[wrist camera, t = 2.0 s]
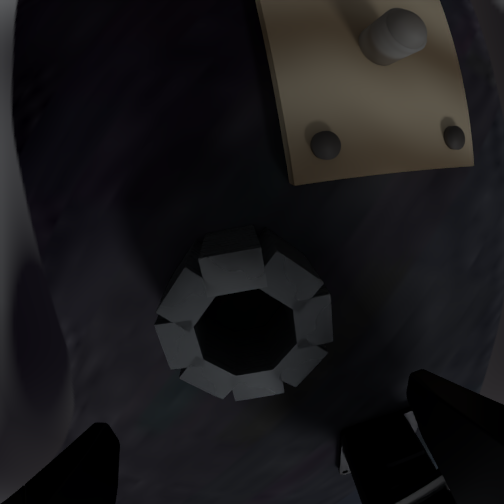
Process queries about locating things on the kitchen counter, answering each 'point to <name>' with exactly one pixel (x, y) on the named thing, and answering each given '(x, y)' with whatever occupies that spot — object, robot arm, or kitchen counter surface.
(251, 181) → the kitchen counter surface
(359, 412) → the kitchen counter surface
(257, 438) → the kitchen counter surface
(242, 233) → the ring
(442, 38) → the beige mounting plate
